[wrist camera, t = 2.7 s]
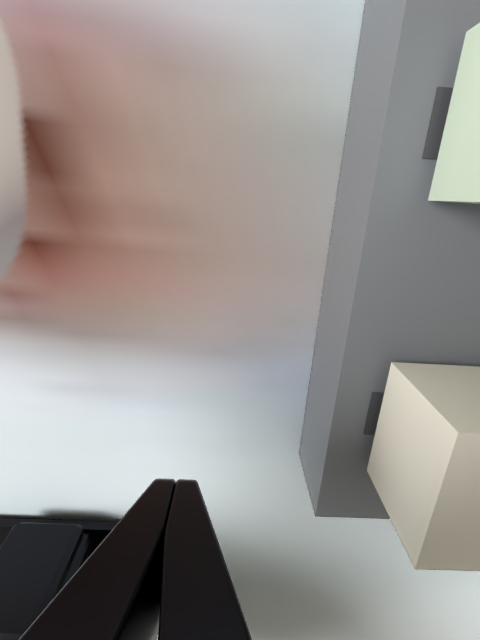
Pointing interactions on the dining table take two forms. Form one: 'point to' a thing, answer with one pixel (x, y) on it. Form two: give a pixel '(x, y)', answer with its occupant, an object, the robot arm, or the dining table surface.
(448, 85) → the control panel
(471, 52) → the sage slider
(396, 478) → the cream slider
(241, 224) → the dining table surface
